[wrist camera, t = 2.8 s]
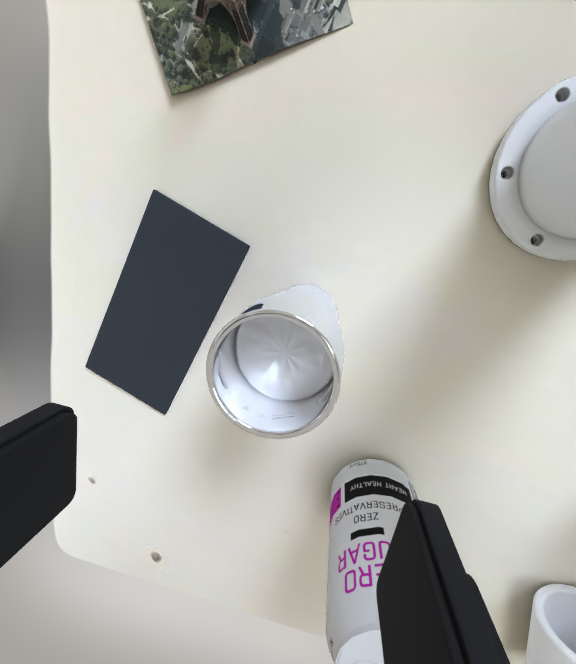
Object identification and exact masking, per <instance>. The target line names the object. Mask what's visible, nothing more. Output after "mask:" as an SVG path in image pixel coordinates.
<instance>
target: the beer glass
mask: <svg viewBox="0 0 576 664" xmlns="http://www.w3.org/2000/svg"><path fill="white" fill-rule="evenodd" d="M344 357H345V348H344V340H343V335H342V331H341V328H340V325H339V323H338V310H337V306H336V304H335V302H334V300H333V298H332V297H331V296H330V295H329V294H328V293H327V292H326V291H325V290H323V289H322V288H320V287H318V286H315V285H311V284H299V285H295V286H292V287H290V288H288V289H286V290H285V291H284V292H279V293H274V294H271V295H268V296H266V297H264V298H261V299H259V300H257V301H255V302H254V303H252V304H251V305H249V306H248V307H247V308H245V309H244V310H243V311H242V312H240V313H239V314H238V315H237V316H236V317H235V318H234V319H233V320H232V321H230V322H229V323H228V324H227V325H226V326H224V327H223V328H222V329H221V331H220V332H219V333H218V334H217V336H216V337H215V339H214V341H213V343H212V345H211V347H210V350H209V353H208V357H207V363H206V376H207V382H208V386H209V390H210V393H211V395H212V397H213V399H214V401H215V403H216V404H217V406H218V407H219V409H220V410H221V411H222V413H223V414H224V415H225V416H226V417H227V418H228V419H229V420H230V421H231V422H233V423H234V424H235V425H237V426H238V427H240V428H241V429H243V430H245V431H247V432H249V433H251V434H254V435H257V436H260V437H265V438H272V439H285V438H292V437H296V436H300V435H302V434H305V433H307V432H309V431H311V430H313V429H314V428H316V427H317V426H318V425H320V424H321V423H322V422H323V421H324V420H325V419H326V418H327V417H328V415H329V414H330V413H331V411H332V410H333V408H334V406H335V404H336V402H337V399H338V396H339V392H340V386H341V379H342V374H343V368H344Z"/></svg>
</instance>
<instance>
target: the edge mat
mask: <svg viewBox="0 0 576 664" xmlns="http://www.w3.org/2000/svg"><path fill="white" fill-rule="evenodd" d="M249 248H250V246H249V245H247V244H246V243H244V242H242V241H240V240H239V239H237V238H235V237H234V236H232V235H230V234H229V233H227V232H225V231H224V230H222V229H220V228H219V227H217V226H215V225H214V224H212V223H210V222H208V221H207V220H205V219H203V218H202V217H200V216H198V215H197V214H195V213H193V212H192V211H190V210H188V209H187V208H185V207H183V206H182V205H180V204H178V203H177V202H175V201H173V200H171V199H170V198H168V197H166V196H165V195H163V194H161V193H160V192H158V191H156V190H153V192H152V195H151V197H150V200H149V202H148V205H147V208H146V210H145V213H144V215H143V218H142V221H141V223H140V226H139V228H138V231H137V234H136V236H135V239H134V241H133V244H132V247H131V249H130V252H129V254H128V257H127V260H126V262H125V265H124V267H123V270H122V273H121V275H120V278H119V280H118V283H117V286H116V288H115V291H114V293H113V296H112V299H111V301H110V304H109V306H108V309H107V312H106V314H105V317H104V319H103V322H102V325H101V327H100V330H99V332H98V335H97V338H96V340H95V343H94V345H93V348H92V351H91V353H90V356H89V358H88V361H87V364H86V366H85V367H87V368H88V369H90V370H92V371H93V372H95V373H96V374H98V375H100V376H101V377H103V378H105V379H106V380H108V381H110V382H111V383H113V384H115V385H116V386H118V387H120V388H121V389H123V390H125V391H126V392H128V393H130V394H131V395H133V396H135V397H136V398H138V399H139V400H141V401H143V402H144V403H146V404H148V405H149V406H151V407H153V408H154V409H156V410H158V411H159V412H161V413H163V414H164V415H165V414H166V413H167V411H168V409H169V407H170V405H171V403H172V401H173V399H174V397H175V395H176V393H177V391H178V389H179V387H180V385H181V383H182V381H183V379H184V377H185V375H186V373H187V371H188V369H189V367H190V365H191V363H192V361H193V359H194V357H195V355H196V353H197V351H198V349H199V347H200V345H201V343H202V341H203V339H204V337H205V335H206V333H207V331H208V329H209V327H210V325H211V323H212V321H213V319H214V317H215V315H216V313H217V311H218V309H219V307H220V305H221V303H222V301H223V299H224V297H225V295H226V293H227V291H228V289H229V288H230V286H231V284H232V282H233V280H234V278H235V276H236V274H237V272H238V270H239V268H240V266H241V264H242V262H243V260H244V258H245V256H246V254H247V252H248V250H249Z"/></svg>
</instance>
